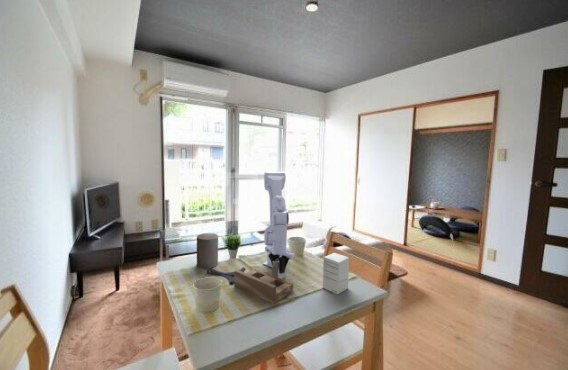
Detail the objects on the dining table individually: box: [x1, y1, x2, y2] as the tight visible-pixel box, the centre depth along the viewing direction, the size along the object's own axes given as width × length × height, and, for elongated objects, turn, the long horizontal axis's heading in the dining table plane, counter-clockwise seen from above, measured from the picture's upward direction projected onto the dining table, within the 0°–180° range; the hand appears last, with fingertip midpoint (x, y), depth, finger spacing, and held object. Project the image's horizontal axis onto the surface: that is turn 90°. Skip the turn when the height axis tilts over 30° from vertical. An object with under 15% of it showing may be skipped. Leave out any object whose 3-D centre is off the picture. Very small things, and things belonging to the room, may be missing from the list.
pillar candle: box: [196, 232, 219, 270], centre depth 122 cm, size 10×10×15 cm
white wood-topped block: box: [271, 259, 287, 280], centre depth 111 cm, size 6×3×8 cm, turn 142°
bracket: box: [206, 266, 246, 285], centre depth 113 cm, size 14×15×3 cm
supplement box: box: [322, 252, 350, 295], centre depth 103 cm, size 7×7×13 cm
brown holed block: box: [233, 268, 294, 305], centre depth 101 cm, size 12×20×6 cm, turn 52°
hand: (279, 271), depth 110 cm, fingers open, 3 cm apart
